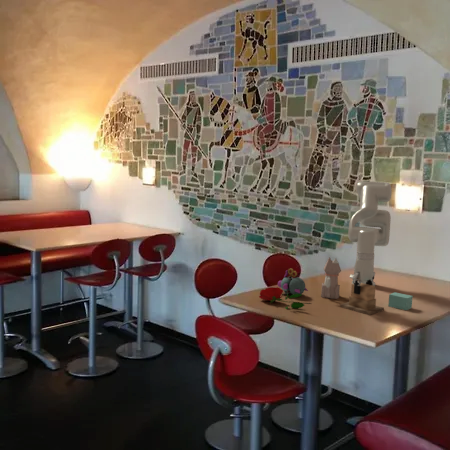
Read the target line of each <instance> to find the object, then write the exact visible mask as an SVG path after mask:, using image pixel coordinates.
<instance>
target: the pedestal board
mask: <svg viewBox="0 0 450 450" xmlns="http://www.w3.org/2000/svg"><path fill="white" fill-rule="evenodd" d="M376 303H377V298H375V299H372V300H369V301H366V300H362V299H358V298H354V297H351V295H350V296H349V298H348V301H347V302H344V303H340V308H343V309H346V310H350V311H353V310H354V312H357V311H358V313H362V314H364V315H367V316H368V315H369V316H370V315H374V314H377V313H379V311H380V312H382V310H383V311H384V310H385V307H383V306H379V305H376Z"/></svg>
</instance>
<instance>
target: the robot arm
mask: <svg viewBox="0 0 450 450" xmlns="http://www.w3.org/2000/svg"><path fill="white" fill-rule="evenodd" d="M355 189H356V193H357V196H358V198H359V200H360V201H359V209H358V210H357V211H356V212H355V213H353V215H352V216H351V217H350V220H349V223H348V232H347V233H348V234H347V236H348V239H349V241H350V242H352V243H356V260H355V264H354V270H353V273H352V274H351V273H350V275H349V279H352V281H351V285H352V284H354V293H355V294H360V291H361V286H360V284H361V283H364V284H368V285H372V286H376V282H374V279H375V276H376V272H375V271H374V268H375V267H374V265H375V247H387V246H388V245H389V242H390V235H391V232H390V231H391V213H390V211H388V210H385V209H378V207H379V202H381V203H382V202H383V203H388V202H390V200H391V198H392V186H391V183H389V182H387V181H386V182H385V181H359V182H358V183H356V187H355ZM359 222H360V226H356V224H358V223H359Z"/></svg>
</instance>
